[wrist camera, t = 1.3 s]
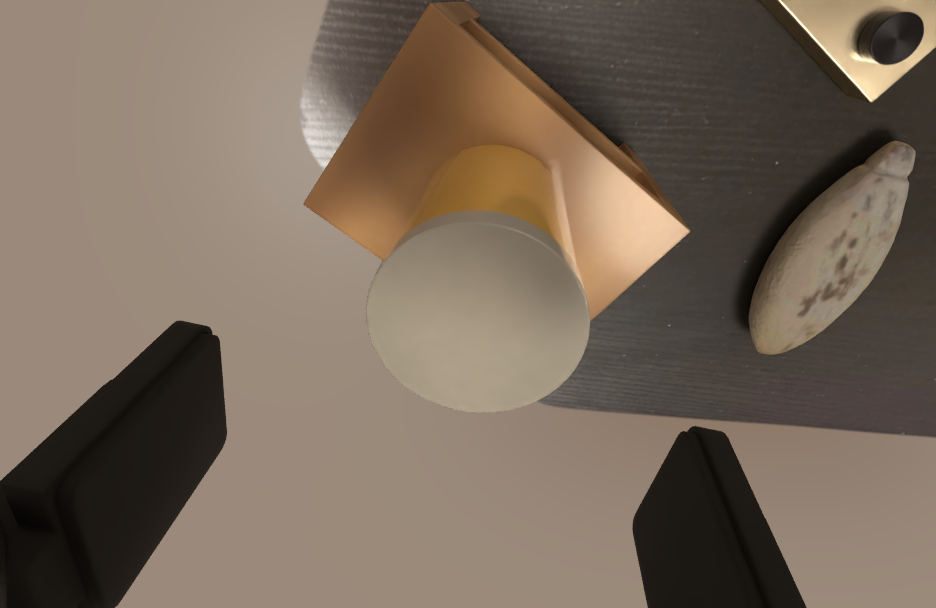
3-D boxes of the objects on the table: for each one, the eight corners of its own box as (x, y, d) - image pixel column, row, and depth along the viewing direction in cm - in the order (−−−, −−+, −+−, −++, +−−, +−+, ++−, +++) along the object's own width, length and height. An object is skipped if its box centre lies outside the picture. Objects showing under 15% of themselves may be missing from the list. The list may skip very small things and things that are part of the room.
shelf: (374, 138, 35) (302, 204, 24) (465, 0, 30) (429, 2, 19) (533, 261, 38) (536, 369, 27) (636, 153, 34) (691, 231, 23)
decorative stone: (933, 149, 32) (975, 164, 29) (794, 348, 40) (815, 375, 37) (839, 123, 32) (871, 136, 29) (717, 328, 40) (733, 354, 37)
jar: (390, 226, 24) (325, 336, 16) (480, 107, 21) (453, 171, 13) (502, 308, 25) (492, 443, 18) (600, 208, 22) (640, 318, 15)
